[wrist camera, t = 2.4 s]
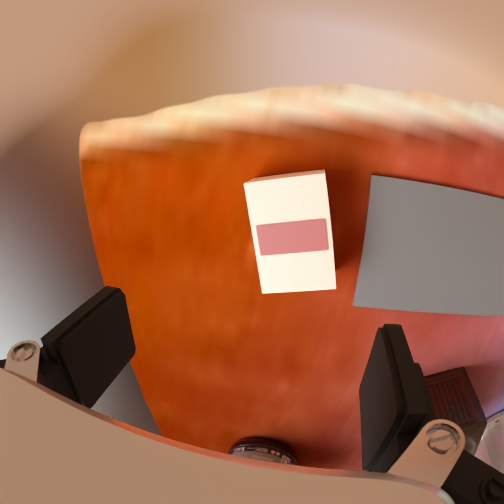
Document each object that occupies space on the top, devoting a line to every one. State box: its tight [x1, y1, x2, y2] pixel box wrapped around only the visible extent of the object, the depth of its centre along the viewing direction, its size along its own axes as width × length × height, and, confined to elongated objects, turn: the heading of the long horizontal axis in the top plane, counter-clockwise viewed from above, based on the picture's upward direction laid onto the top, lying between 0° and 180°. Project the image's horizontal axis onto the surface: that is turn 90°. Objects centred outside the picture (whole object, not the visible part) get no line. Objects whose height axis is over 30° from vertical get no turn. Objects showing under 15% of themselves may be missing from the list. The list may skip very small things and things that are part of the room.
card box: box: [244, 169, 336, 294], centre depth 25 cm, size 6×9×4 cm, turn 10°
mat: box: [353, 175, 504, 316], centre depth 23 cm, size 18×12×1 cm, turn 89°
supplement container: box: [228, 438, 298, 466], centre depth 33 cm, size 10×10×12 cm
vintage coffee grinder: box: [424, 367, 487, 455], centre depth 22 cm, size 16×11×18 cm
